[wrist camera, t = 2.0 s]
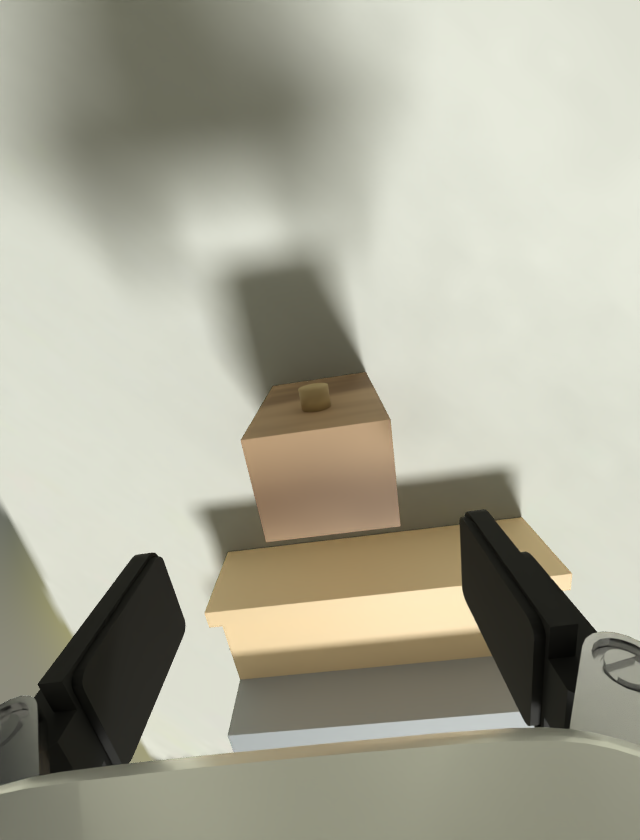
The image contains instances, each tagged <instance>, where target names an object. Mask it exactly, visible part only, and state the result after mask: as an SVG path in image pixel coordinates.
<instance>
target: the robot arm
mask: <svg viewBox="0 0 640 840" xmlns="http://www.w3.org/2000/svg"><path fill="white" fill-rule="evenodd" d="M460 548H461V575H462V591H463V595H464V598H465V601H466V603H467V605H468V607H469V609H470V611H471V613H472V615H473V617H474V620H475V622H476V624H477V626H478V628H479V630H480V632H481V634H482V636H483V638H484V640H485V642H486V644H487V646H488V648H489V650H490V652H491V654H492V656H493V659H494V661H495V663H496V665H497V667H498V669H499V671H500V673H501V675H502V677H503V679H504V681H505V683H506V685H507V687H508V689H509V691H510V693H511V695H512V698H513V700H514V702H515V704H516V706H517V708H518V710H519V712H520V714H521V716H522V718H523V720H524V722H525V723H526V724H527V725H528V726H534V727H535V728H503V729H489V730H475V731H461V732H447V733H435V734H424V735H413V736H402V737H391V738H380V739H369V740H358V741H347V742H337V743H326V744H316V745H306V746H296V747H285V748H275V749H265V750H255V751H245V752H235V753H225V754H215V755H205V756H196V757H186V758H177V759H167V760H158V761H148V762H139V763H129V762H130V761H131V759H132V757H133V755H134V753H135V750H136V748H137V745H138V743H139V741H140V738H141V736H142V733H143V731H144V729H145V726H146V724H147V721H148V719H149V717H150V714H151V712H152V710H153V707H154V705H155V702H156V700H157V698H158V695H159V693H160V690H161V688H162V686H163V683H164V681H165V678H166V676H167V674H168V671H169V669H170V666H171V664H172V662H173V659H174V657H175V654H176V652H177V650H178V647H179V645H180V643H181V640H182V638H183V635H184V632H185V620H184V617H183V614H182V611H181V608H180V605H179V603H178V600H177V597H176V594H175V591H174V589H173V586H172V583H171V580H170V577H169V575H168V572H167V569H166V566H165V563H164V560H163V558H162V557H158V555H157V554H156V553H147V554H139V555H135V556H134V557H133V558H132V559H131V560H130V562H129V563H128V564H127V566H126V567H125V568H124V570H123V571H122V572H121V574H120V575H119V576H118V578H117V579H116V580H115V582H114V583H113V584H112V586H111V587H110V588H109V590H108V591H107V592H106V594H105V595H104V596H103V598H102V599H101V600H100V602H99V603H98V604H97V606H96V607H95V608H94V610H93V611H92V612H91V614H90V615H89V616H88V618H87V619H86V620H85V622H84V623H83V624H82V626H81V627H80V628H79V630H78V631H77V632H76V634H75V635H74V636H73V638H72V639H71V640H70V642H69V643H68V644H67V646H66V647H65V649H64V650H63V651H62V653H61V654H60V655H59V657H58V658H57V659H56V660H55V662H54V663H53V664H52V666H51V667H50V669H49V670H48V671H47V672H46V674H45V675H44V676H43V678H42V679H41V680H40V682H39V683H38V686H39V688H40V690H39V692H38V693H37V695H36V696H35V697H34V698H33V697H31V696H19V697H16V698H13V699H10V700H8V701H6V702H4V703H2V704H0V840H640V641H638V640H636V639H633V638H631V637H629V636H626V635H622V634H619V633H615V632H598V633H597V631H596V630H595V629H594V628H593V627H592V626H591V624H590V623H589V622H588V621H587V620H586V618H585V617H584V616H583V615H582V614H581V612H580V611H579V610H578V609H577V608H576V607H575V605H574V604H573V603H572V602H571V601H570V599H569V598H568V597H567V596H566V595H565V594H564V592H563V591H562V590H561V589H560V588H559V586H558V585H557V584H556V583H555V582H554V580H553V579H552V578H551V577H550V576H549V575H548V573H547V572H546V571H545V570H544V569H543V567H542V566H541V565H540V564H539V563H538V561H537V560H536V559H535V558H534V557H533V556H532V555H531V554H530V553H528V552H526V551H525V552H520V551H519V549H518V548H517V547H516V546H515V544H514V543H513V542H512V541H511V540H510V538H509V537H508V536H507V535H506V533H505V532H504V531H503V530H502V528H501V527H500V526H499V525H498V523H497V522H496V521H495V520H494V518H493V517H492V516H491V515H490V514H489V512H488V511H487V510H477V511H470V512H466V513H465V517H462V518H460Z"/></svg>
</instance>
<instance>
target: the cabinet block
mask: <svg viewBox="0 0 640 840" xmlns="http://www.w3.org/2000/svg"><path fill="white" fill-rule="evenodd" d="M241 444H242V448H243V452H244V456H245V460H246V464H247V468H248V472H249V476H250V480H251V484H252V488H253V492H254V496H255V500H256V504H257V508H258V512H259V516H260V520H261V524H262V528H263V532H264V536H265V540H266V542H272V541H281V540H289V539H298V538H306V537H315V536H323V535H331V534H340V533H348V532H357V531H365V530H374V529H382V528H390V527H399V526H400V515H399V505H398V494H397V483H396V473H395V462H394V452H393V441H392V430H391V420H390V418H389V416H388V414H387V412H386V410H385V408H384V406H383V404H382V402H381V400H380V398H379V396H378V394H377V393H376V391H375V389H374V387H373V385H372V383H371V381H370V379H369V377H368V375H367V373H366V372H363V373H356V374H349V375H343V376H336V377H329V378H323V379H316V380H309V381H303V382H296V383H289V384H282V385H276V386H272V388H271V390H270V392H269V393H268V395H267V397H266V398H265V400H264V402H263V403H262V405H261V407H260V408H259V410H258V412H257V413H256V415H255V417H254V419H253V420H252V422H251V424H250V425H249V427H248V429H247V430H246V432H245V434H244V435H243V437H242V439H241Z"/></svg>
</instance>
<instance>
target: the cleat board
mask: <svg viewBox="0 0 640 840" xmlns="http://www.w3.org/2000/svg"><path fill="white" fill-rule="evenodd" d="M495 521H496V522H497V523H498V525H499V526H500V527H501V528H502V530H503V531H504V532H505V533H506V535H507V536H508V537H509V538H510V540H511V541H512V542H513V543H514V544H515V546H516V547H517V548H518V549H519V551H520V552H525V551H526V552H528V553H530V554H531V555H532V556H533V557H534V558H535V559H536V560H537V561H538V563H539V564H540V565H541V566H542V567H543V569H544V570H545V571H546V572H547V573H548V575H549V576H550V577H551V578H552V579H553V580H554V582H555V583H556V584H557V585H558V586H559V588H560V589H561V590H562V591H565V590H571V580H572V573H571V572H570V571H569V570H568V569H567V567H566V566H565V565H564V564H563V563H562V562H561V561H560V560H559V558H558V557H557V556H556V555H555V554H554V553H553V552H552V551H551V549H550V548H549V547H548V546H547V545H546V544H545V543H544V541H543V540H542V539H541V538H540V537H539V536H538V535H537V534H536V532H535V531H534V530H533V529H532V528H531V527H530V526H529V525H528V523H527V522H526V521H525V520H524V519H523V518H522V517H520V518H511V519H503V520H495ZM205 616H206V619H207V622H208V625H209V628H210V627H220V626H223V629H224V632H225V635H226V638H227V641H228V644H229V647H230V650H231V653H232V656H233V659H234V662H235V665H236V668H237V671H238V674H239V677H240V683H239V687H238V692H237V696H236V701H235V705H234V710H233V714H232V719H231V723H230V728H229V732H228V738H229V741H230V743H231V746H232V749H233V751H234V753H235V752H245V751H255V750H265V749H275V748H285V747H296V746H306V745H316V744H326V743H337V742H347V741H358V740H369V739H380V738H391V737H402V736H413V735H424V734H435V733H447V732H461V731H475V730H489V729H503V728H535V727H534V726H528V725H527V724H526V723H525V722H524V720H523V718H522V716H521V714H520V712H519V710H518V708H517V706H516V704H515V702H514V700H513V698H512V695H511V693H510V691H509V689H508V687H507V685H506V683H505V681H504V679H503V677H502V675H501V673H500V671H499V669H498V667H497V665H496V663H495V661H494V659H493V656H492V654H491V652H490V650H489V648H488V646H487V644H486V642H485V640H484V638H483V636H482V634H481V632H480V630H479V628H478V626H477V624H476V622H475V620H474V617H473V615H472V613H471V611H470V609H469V607H468V605H467V603H466V601H465V598H464V595H463V591H462V575H461V548H460V525H452V526H444V527H435V528H427V529H419V530H410V531H402V532H393V533H385V534H376V535H368V536H360V537H351V538H343V539H334V540H326V541H317V542H309V543H300V544H292V545H284V546H275V547H267V548H258V549H250V550H241V551H233V552H228V553H227V556H226V558H225V561H224V563H223V566H222V569H221V571H220V574H219V577H218V579H217V582H216V584H215V587H214V590H213V592H212V595H211V597H210V600H209V603H208V605H207V608H206V611H205Z"/></svg>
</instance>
